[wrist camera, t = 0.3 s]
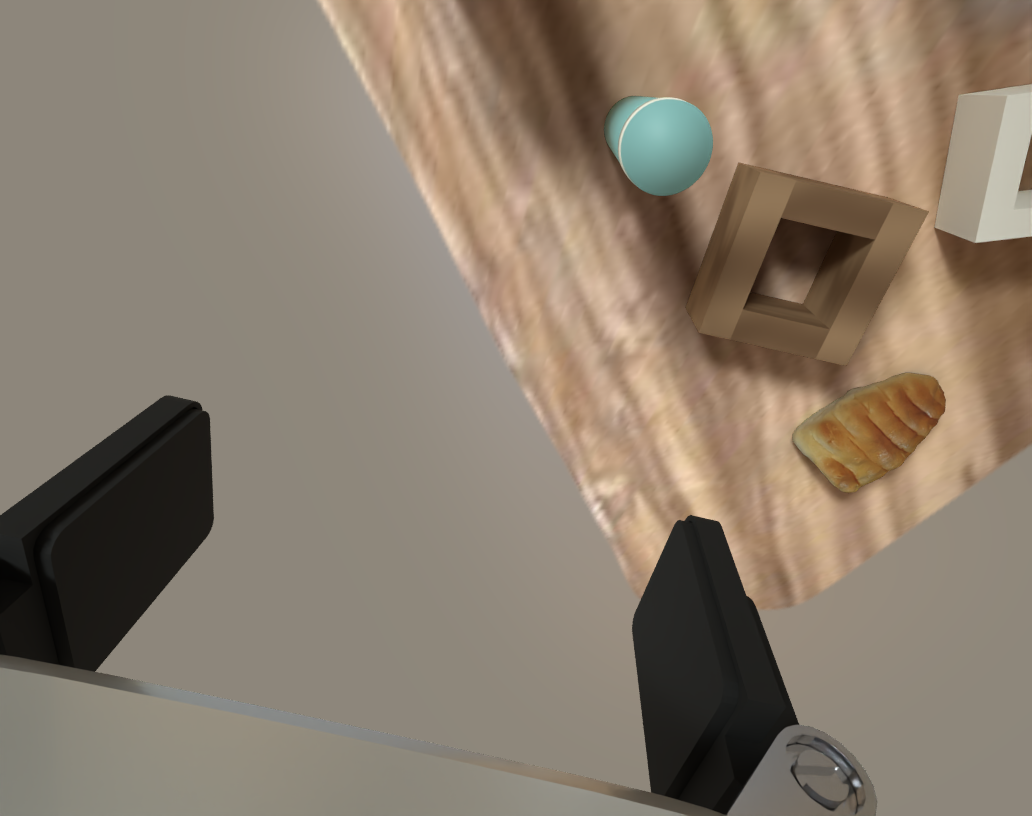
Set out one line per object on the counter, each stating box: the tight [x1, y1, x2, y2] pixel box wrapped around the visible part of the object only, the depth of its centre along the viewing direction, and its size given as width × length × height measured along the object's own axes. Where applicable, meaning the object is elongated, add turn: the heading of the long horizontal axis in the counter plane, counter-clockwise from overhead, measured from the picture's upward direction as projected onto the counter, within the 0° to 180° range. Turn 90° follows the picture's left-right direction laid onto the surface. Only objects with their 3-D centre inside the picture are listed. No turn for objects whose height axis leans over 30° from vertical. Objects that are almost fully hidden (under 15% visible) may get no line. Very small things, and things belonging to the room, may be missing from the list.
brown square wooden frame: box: [686, 163, 929, 366], centre depth 34 cm, size 9×9×4 cm
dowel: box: [604, 96, 713, 196], centre depth 27 cm, size 3×3×14 cm
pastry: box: [792, 373, 946, 493], centre depth 40 cm, size 9×7×4 cm
